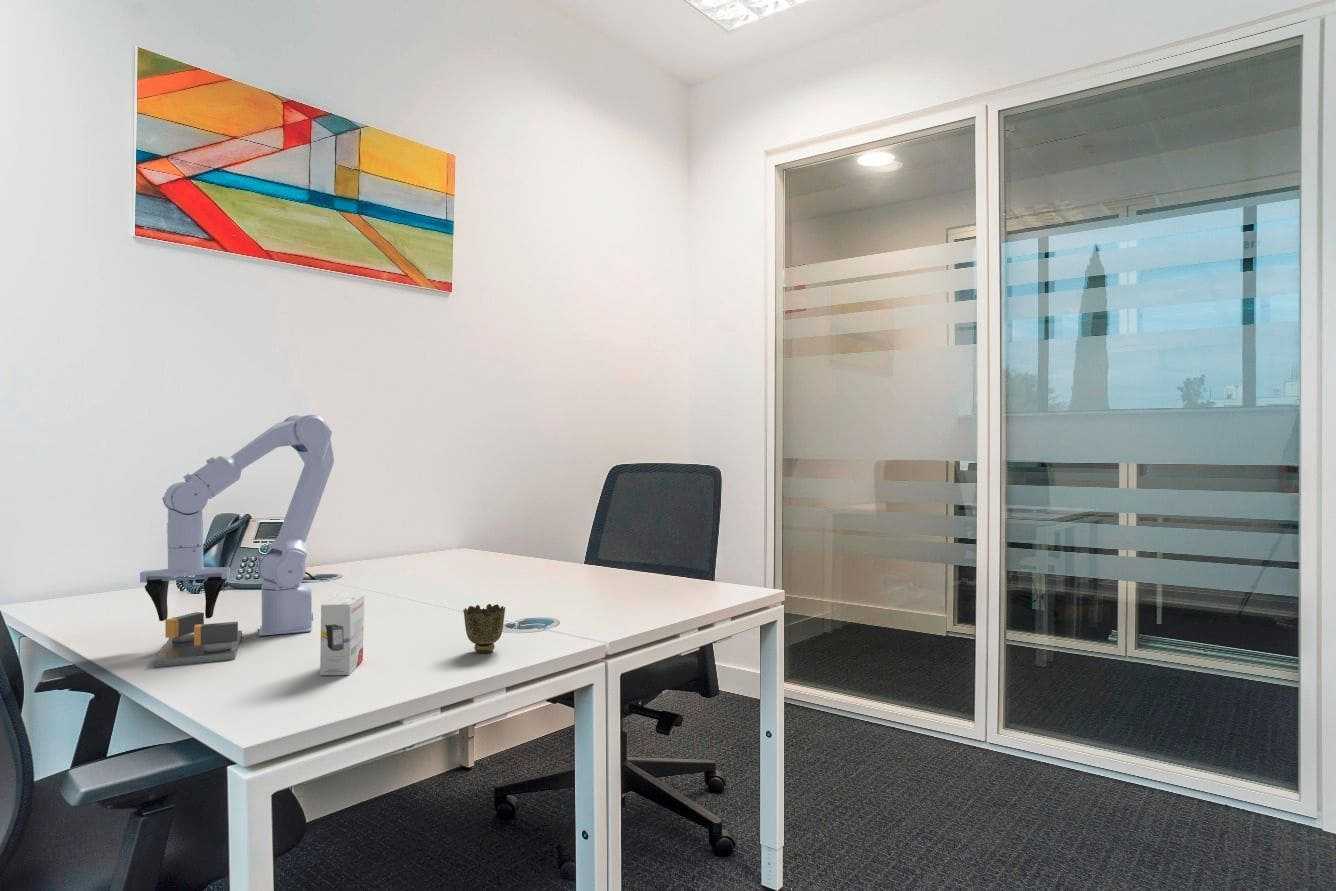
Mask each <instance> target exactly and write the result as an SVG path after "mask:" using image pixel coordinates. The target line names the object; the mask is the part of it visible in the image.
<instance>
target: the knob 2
mask: <svg viewBox="0 0 1336 891" xmlns="http://www.w3.org/2000/svg"><path fill="white" fill-rule="evenodd" d="M238 631H239V621H229V622H226V621H225V622H216V623H204V624H198V625H195V626H194V646H196V645H203V651H205V652H218V651H224V650H228V649H230V648H231V642H236V641H238Z"/></svg>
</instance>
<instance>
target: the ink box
mask: <svg viewBox="0 0 1336 891" xmlns="http://www.w3.org/2000/svg"><path fill="white" fill-rule="evenodd" d="M320 606H321V607H320V655H319V656H320V662H319V663H320V664H319V665H320V666H319V674H320V676H350V675H351V674H352V673H353V672H354V671H355V670H356V669H357V667H359V665H360V664H361V663H362V662H363V660H364V630H365V629H364V625H365V622H364V621H365V595H364V594H343V595H341V594H339V595H336V596H334V597H332V598H331V599H329V600H327V601H326V602H323V603H322V604H321V605H320Z"/></svg>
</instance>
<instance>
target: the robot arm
mask: <svg viewBox="0 0 1336 891" xmlns="http://www.w3.org/2000/svg"><path fill="white" fill-rule="evenodd" d="M332 435H333V430H331V428H330V426H329V425H328V424H327V422H326V421H325V419H324V418H323V417H321V416H320V415H317V414H307V415H291V416H288V417H286V418H285V419H284V420H283V421H279V422H277V423H275V424H274V425H273V426H271V427H270V428H268V429H267V430H265V431H263V433H260V434H259V435H258V436H257V437H256V438H254V439H253V440H251V441H250V442H248V443H247V444H246V445H244V446H243V447H242V448H241V449H239V450H238V451H237V452H235V453H234V454H232V455H231V456H225V455H219V456H217V457H216V458H215V457H214V456H212V457H210V458H208V459H207V460H205V462H206V464H205V465H203V466H201V467H200V468H199V469H197V470H196V471H194V472H193V473H191V474H190V473H187V474H185V475H184V476H183V478H184V481H180V482H175V483H173V484H171V485H170V486H168V487H167V489H166V491H165V492H164V496H163V497H162V503H163V505H164V507H165V508H166V509H167V523H166V525H167V526H166V527H167V528H166V529H167V531H166V532H167V534H166V535H167V537H166V538H167V539H166V540H167V568H165V569H164V568H163V569H162V568H161V569H152V570H151V569H150V570H149V569H148V570H143V571H141V572H139V583H140V584H141V583H142V584H143V583H146V585H144V589H145V592H146V593H147V594H148V595H149V597H150V599H151V601H152V602H153V605H154V607H155V610H156V613H157V616H158V621H159V622H164V621H165V620H166V619H168V612H169V611H168V610H169V609H168V592H169V583H170V582H171V581H173V582H174V581H175V582H176V581H190V580H191V581H192V580H193V581H195V580H196V581H197V580H205V581H203V584H202V585H203V590H204V598H205V608H204V609H205V610H204V618H205V619H211V618H212V617H213V616H214V611H215V606H216V603H217V601H218V597H219V594H220V593H221V590H222V588H223V586H224V584H225V582H226V580H227V579H229V578H231V567H230V566H223V567H221V566H220V567H219V566H204V521H203V510H204V509H205V508H206V506H207V504H208V500H211V499H213V498H215V497H216V496H217V495H219V494H220V493H222V492H223V491H225V490H226V489H227V488H230V486H232V485H233V484H235V483H236V482H237V481H239V480H240V479H241V474H242V470H244V469H245V468H247V467H248V466H250V465H252V464H253V463H255V462H256V461H258V460H260V459H261V458H262V457H264V456H266V455H267V454H269V453H271V452H272V451H274V450H275V449H277V448H281V447H289V446H290V447H292V449H294V450H295V451H296V452H297V454H298V455H299V457H300V459H301V460H302V462H303V467H302V470H301V472H300V476H299V477H298V482H297V484H296V487H295V489H294V492H293V495H292V498H291V499H290V500H291V501H290V502H289V506H288V508H287V511H286V515H285V517H284V519H283V522H282V525H281V527H280V530H279V533H278V534H277V535H278V536H277V537H276V538H275V539H274V540H273V541H272V542H271V543H270V545H269V547H268V550H267V551H266V553H265V554H264V555H263V556H261V558H260V559H259V560H258V563H257V573H258V576H259V577H260V578H261V579H262V580H263V582H262V584H261V625H260V626H259V630H258V636H260V637H261V636H263V637H264V636H273V635H282V634H283V635H286V634H294V633H295V634H297V633H304V632H305V633H306V632H311V631H313V630H312V626H313V625H312V624H313V623H312V622H314V611H312V600H313V599H312V585H311V584H310V585H309V584H306V585H305V584H304V585H303V584H302V581H303V579H304V577H305V575H306V571H307V570H306V569H307V568H306V559H307V556H308V551H307V550H308V549H307V546H306V542H307V539H308V536H309V533H310V531H311V527H312V525H313V523H314V522H313V521H314V519H315V516H316V515H317V511H318V508H319V506H320V503H321V500H322V497H323V494H324V492H325V488H326V485H327V483H328V480H329V478H330V475H331V472H332V469H333V466H334V464H335V459H334V458H335V457H334V451H333V446H332V440H331V439H332Z"/></svg>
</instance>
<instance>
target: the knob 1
mask: <svg viewBox="0 0 1336 891" xmlns="http://www.w3.org/2000/svg"><path fill="white" fill-rule="evenodd" d="M164 621H165V622H164V623H165V628H164V629H165V639H166V638H168V639H169V638H172V642H190V641H194V626H195V625H198V624H205V612H198V611H195V612H192V613H191V612H190V613H188V614H183V615H180V616H175V617H171V618H167V619H166V620H164Z"/></svg>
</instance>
